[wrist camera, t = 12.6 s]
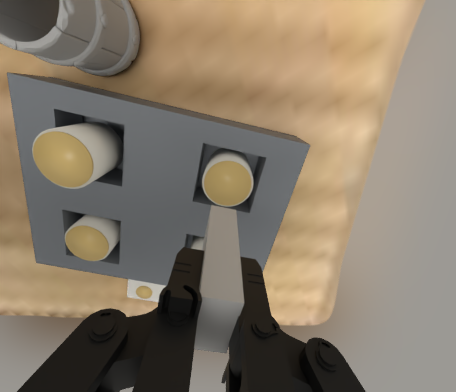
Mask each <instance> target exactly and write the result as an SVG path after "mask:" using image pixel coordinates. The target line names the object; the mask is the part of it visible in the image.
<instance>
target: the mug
mask: <svg viewBox="0 0 456 392" xmlns="http://www.w3.org/2000/svg"><path fill="white" fill-rule="evenodd" d="M0 43H1V44H3V45H5V46H7V47H10V48H12V49H15V50H18V51H22V52H26V53H30V54H32V55H34V56H36V57H38V58H40V59H42V60H44V61H46V62H49V63H52V64H57V65H62V66H75V67H77V68H78V69H80V70H82V71H84V72H87V73H90V74H93V75H99V76H109V75H114V74H117V73H119V72H121V71H123V70H125V69H126V68H127V67H129V65H130V64H131V60H134V59H135V58H136V56H137V53H138V49H139V43H140V32H139V26H138V22H137V19H136V16H135V14H134V12H133V9H132V7H131V5H130V3H129V1H128V0H0Z"/></svg>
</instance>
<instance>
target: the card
mask: <svg viewBox="0 0 456 392" xmlns="http://www.w3.org/2000/svg"><path fill="white" fill-rule="evenodd" d="M164 287H166V286H165V285H159V284H153V283H148V282H142V281H136V280H131V279H128V289H127V297H130V298H136V299H142V300H148V301H154V302H159V295H160V293H161V291H162V290H163V288H164Z"/></svg>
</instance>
